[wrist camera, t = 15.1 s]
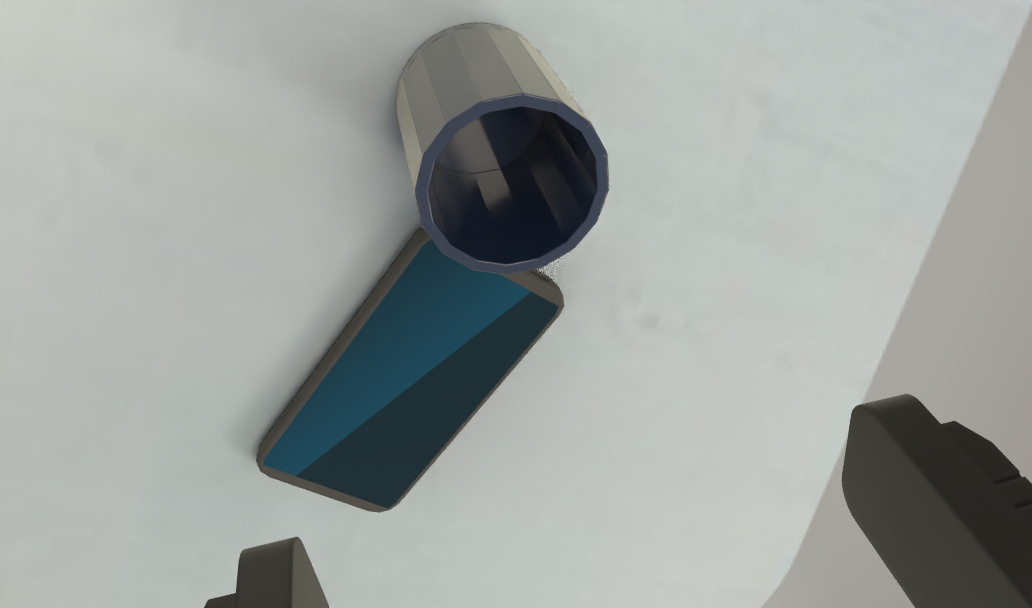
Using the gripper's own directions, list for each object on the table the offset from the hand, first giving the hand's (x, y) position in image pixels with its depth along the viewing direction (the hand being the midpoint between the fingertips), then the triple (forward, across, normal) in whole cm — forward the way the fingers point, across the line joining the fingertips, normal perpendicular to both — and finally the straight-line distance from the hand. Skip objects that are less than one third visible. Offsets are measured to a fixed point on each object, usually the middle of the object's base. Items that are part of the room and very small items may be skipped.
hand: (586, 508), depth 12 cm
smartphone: (+22, +4, +15) cm, 27 cm away
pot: (+22, -2, +3) cm, 23 cm away
